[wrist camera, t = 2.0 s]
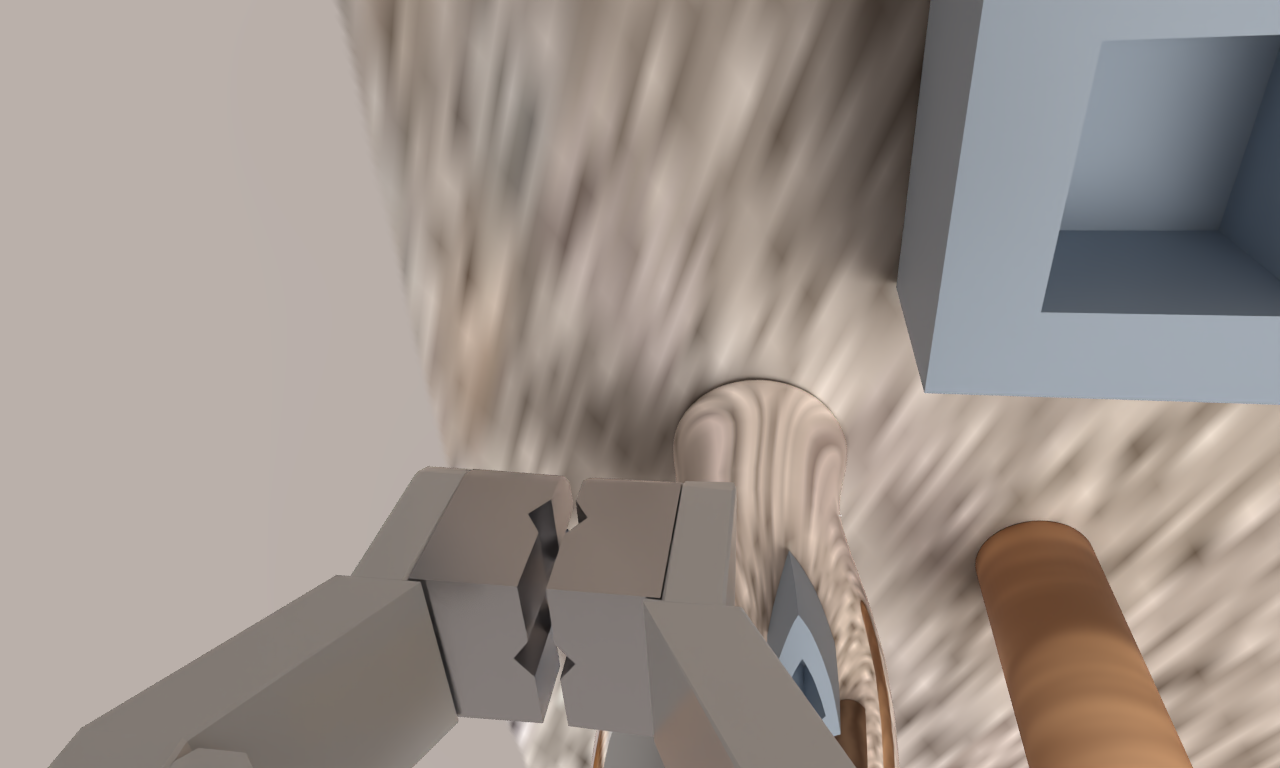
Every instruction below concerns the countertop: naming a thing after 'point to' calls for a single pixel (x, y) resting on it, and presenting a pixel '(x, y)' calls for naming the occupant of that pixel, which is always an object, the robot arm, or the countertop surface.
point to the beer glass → (788, 561)
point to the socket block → (1097, 201)
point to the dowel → (1071, 655)
